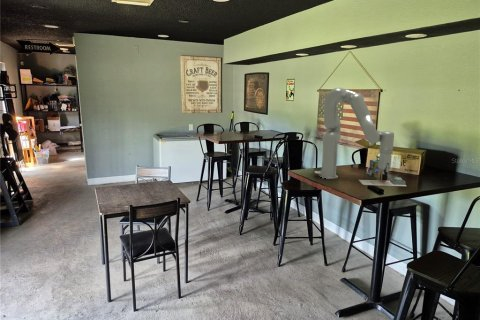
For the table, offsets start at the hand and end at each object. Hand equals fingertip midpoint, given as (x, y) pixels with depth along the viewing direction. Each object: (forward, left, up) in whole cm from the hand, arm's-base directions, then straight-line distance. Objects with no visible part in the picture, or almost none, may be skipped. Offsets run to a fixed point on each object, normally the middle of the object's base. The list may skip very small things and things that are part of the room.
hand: (383, 179), depth 209 cm
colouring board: (-1, -2, -3) cm, 4 cm away
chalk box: (+2, +17, -3) cm, 17 cm away
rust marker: (0, 0, -1) cm, 1 cm away
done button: (+8, -2, 0) cm, 8 cm away
